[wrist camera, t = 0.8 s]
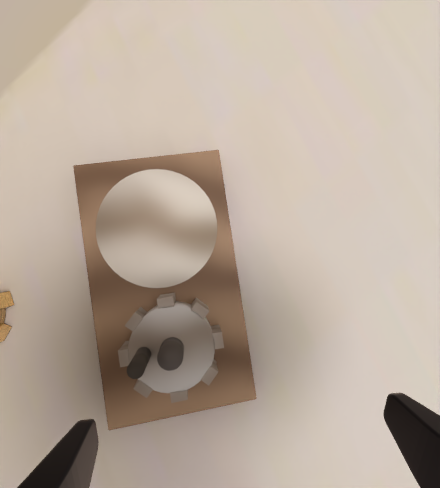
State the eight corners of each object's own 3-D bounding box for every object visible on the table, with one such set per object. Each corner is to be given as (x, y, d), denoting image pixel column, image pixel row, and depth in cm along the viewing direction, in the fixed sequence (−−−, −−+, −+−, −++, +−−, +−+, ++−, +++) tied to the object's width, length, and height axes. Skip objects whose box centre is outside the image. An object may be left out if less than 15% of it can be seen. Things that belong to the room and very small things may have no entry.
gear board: (252, 389, 22) (274, 438, 16) (114, 417, 21) (83, 482, 15) (216, 157, 23) (225, 121, 17) (81, 171, 21) (38, 139, 15)
